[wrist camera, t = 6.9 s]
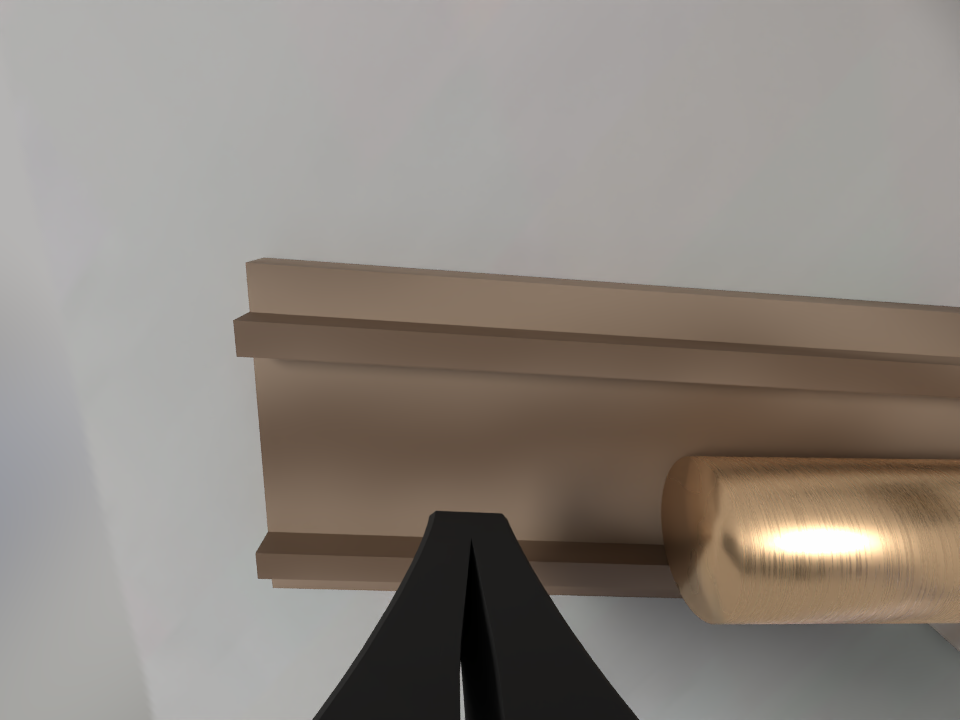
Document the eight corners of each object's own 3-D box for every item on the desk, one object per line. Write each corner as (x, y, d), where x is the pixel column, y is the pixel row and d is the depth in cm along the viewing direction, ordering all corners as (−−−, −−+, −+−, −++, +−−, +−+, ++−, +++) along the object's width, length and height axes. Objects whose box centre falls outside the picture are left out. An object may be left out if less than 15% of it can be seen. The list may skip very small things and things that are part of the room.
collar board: (1085, 584, 16) (1486, 827, 9) (285, 561, 14) (150, 840, 8) (1246, 327, 13) (1963, 439, 7) (264, 257, 11) (23, 322, 5)
